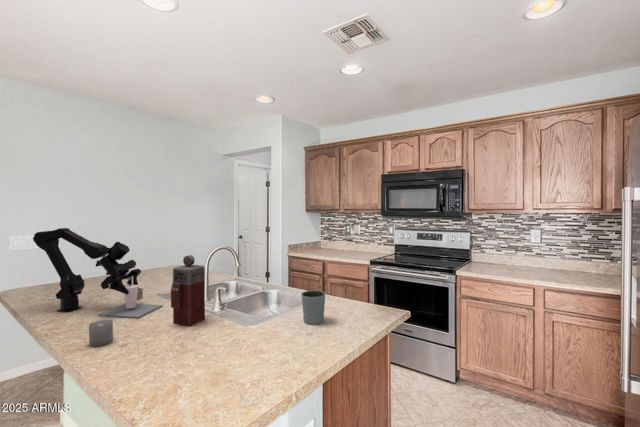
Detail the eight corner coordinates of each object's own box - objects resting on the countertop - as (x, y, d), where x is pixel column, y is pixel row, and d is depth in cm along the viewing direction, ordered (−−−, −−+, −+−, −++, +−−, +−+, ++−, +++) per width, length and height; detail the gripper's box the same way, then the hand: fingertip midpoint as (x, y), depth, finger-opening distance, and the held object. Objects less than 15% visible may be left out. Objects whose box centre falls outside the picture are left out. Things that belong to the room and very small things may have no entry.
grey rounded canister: (84, 346, 110) (83, 326, 110) (101, 337, 117) (101, 319, 116) (101, 347, 108) (100, 327, 108) (117, 339, 115) (117, 320, 115)
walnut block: (127, 300, 161) (127, 291, 161) (132, 297, 166) (132, 288, 166) (138, 300, 162) (138, 290, 162) (142, 297, 167) (142, 288, 166)
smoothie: (136, 308, 143) (136, 278, 143) (120, 309, 141) (120, 278, 141) (140, 304, 149) (140, 275, 149) (125, 305, 147) (125, 275, 147)
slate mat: (97, 315, 139) (97, 314, 139) (125, 304, 155) (125, 302, 155) (138, 318, 136) (138, 316, 136) (162, 306, 152) (162, 305, 152)
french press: (168, 325, 129) (167, 257, 128) (189, 316, 139) (188, 253, 138) (185, 328, 125) (184, 258, 124) (205, 319, 136) (204, 254, 135)
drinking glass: (330, 321, 134) (330, 293, 134) (313, 328, 127) (313, 298, 126) (313, 315, 141) (313, 288, 141) (296, 321, 134) (296, 293, 133)
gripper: (106, 258, 136) (129, 285, 134) (137, 252, 154) (158, 275, 153) (90, 275, 137) (113, 302, 136) (123, 267, 156) (143, 290, 154)
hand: (133, 291), depth 145 cm, fingers closed on smoothie, 6 cm apart
